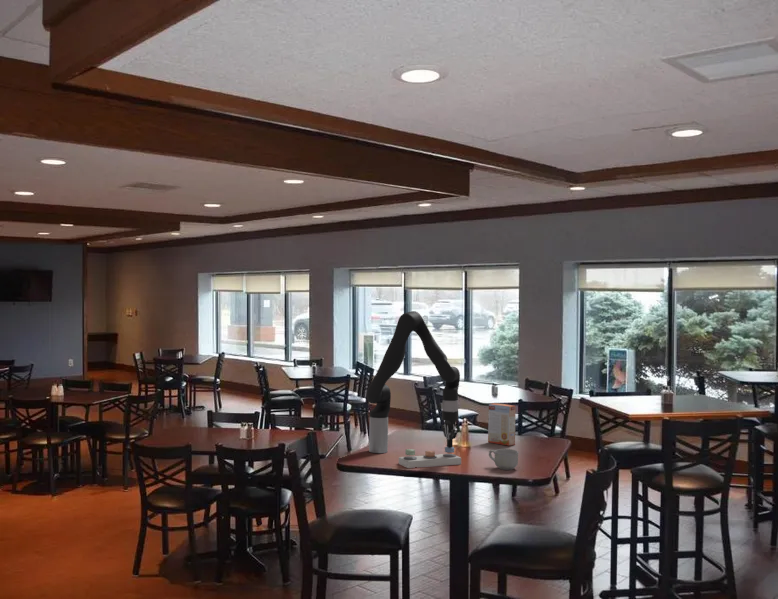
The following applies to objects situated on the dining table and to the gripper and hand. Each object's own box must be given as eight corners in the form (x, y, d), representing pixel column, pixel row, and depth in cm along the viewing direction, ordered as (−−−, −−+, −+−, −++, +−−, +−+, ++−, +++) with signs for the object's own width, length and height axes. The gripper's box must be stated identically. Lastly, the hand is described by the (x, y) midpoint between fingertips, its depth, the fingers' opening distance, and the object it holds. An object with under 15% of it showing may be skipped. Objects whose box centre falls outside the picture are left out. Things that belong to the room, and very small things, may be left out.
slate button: (443, 451, 349) (443, 446, 349) (451, 450, 351) (451, 446, 351) (447, 452, 345) (447, 448, 345) (455, 452, 347) (456, 448, 347)
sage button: (403, 453, 342) (403, 449, 342) (412, 453, 343) (412, 448, 343) (407, 455, 338) (407, 451, 338) (416, 455, 339) (416, 450, 339)
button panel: (398, 463, 344) (398, 456, 344) (451, 460, 354) (451, 452, 354) (407, 468, 334) (407, 460, 334) (461, 464, 345) (461, 456, 345)
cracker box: (515, 445, 396) (516, 405, 396) (508, 446, 392) (509, 406, 392) (494, 441, 406) (495, 402, 406) (487, 442, 402) (488, 403, 402)
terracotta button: (423, 455, 345) (423, 451, 345) (432, 454, 347) (432, 450, 347) (427, 457, 341) (427, 452, 341) (436, 456, 343) (436, 452, 343)
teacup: (523, 469, 337) (523, 451, 337) (508, 472, 330) (508, 454, 330) (498, 464, 347) (498, 446, 347) (483, 467, 339) (483, 449, 340)
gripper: (436, 408, 353) (436, 445, 353) (449, 412, 341) (448, 450, 340) (450, 407, 356) (450, 444, 355) (464, 411, 343) (463, 449, 343)
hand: (449, 447), depth 348 cm, fingers closed
